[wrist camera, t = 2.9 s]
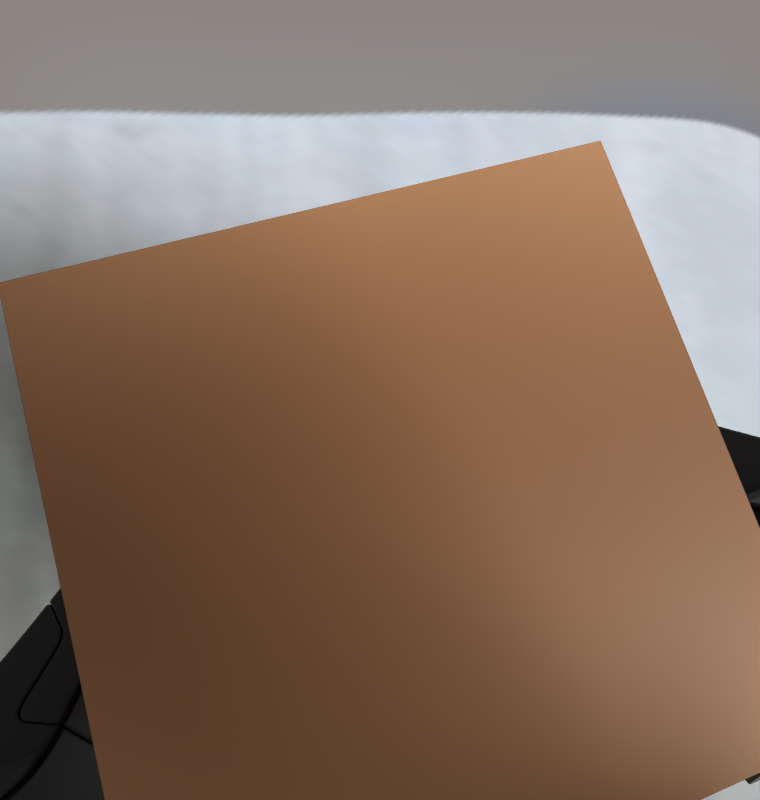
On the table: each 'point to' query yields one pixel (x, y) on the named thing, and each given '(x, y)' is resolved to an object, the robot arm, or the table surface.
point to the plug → (396, 504)
